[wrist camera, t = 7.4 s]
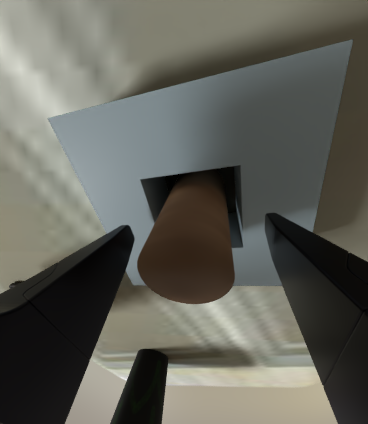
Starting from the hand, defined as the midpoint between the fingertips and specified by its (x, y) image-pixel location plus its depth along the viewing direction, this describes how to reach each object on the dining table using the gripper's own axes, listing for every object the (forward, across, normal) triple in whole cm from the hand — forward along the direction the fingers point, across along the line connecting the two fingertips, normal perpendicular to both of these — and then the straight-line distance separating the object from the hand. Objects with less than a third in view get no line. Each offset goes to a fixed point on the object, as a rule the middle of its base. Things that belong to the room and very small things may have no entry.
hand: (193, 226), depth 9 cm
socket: (+5, 0, 0) cm, 5 cm away
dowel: (+5, 0, 0) cm, 5 cm away
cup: (+5, +13, +31) cm, 34 cm away
